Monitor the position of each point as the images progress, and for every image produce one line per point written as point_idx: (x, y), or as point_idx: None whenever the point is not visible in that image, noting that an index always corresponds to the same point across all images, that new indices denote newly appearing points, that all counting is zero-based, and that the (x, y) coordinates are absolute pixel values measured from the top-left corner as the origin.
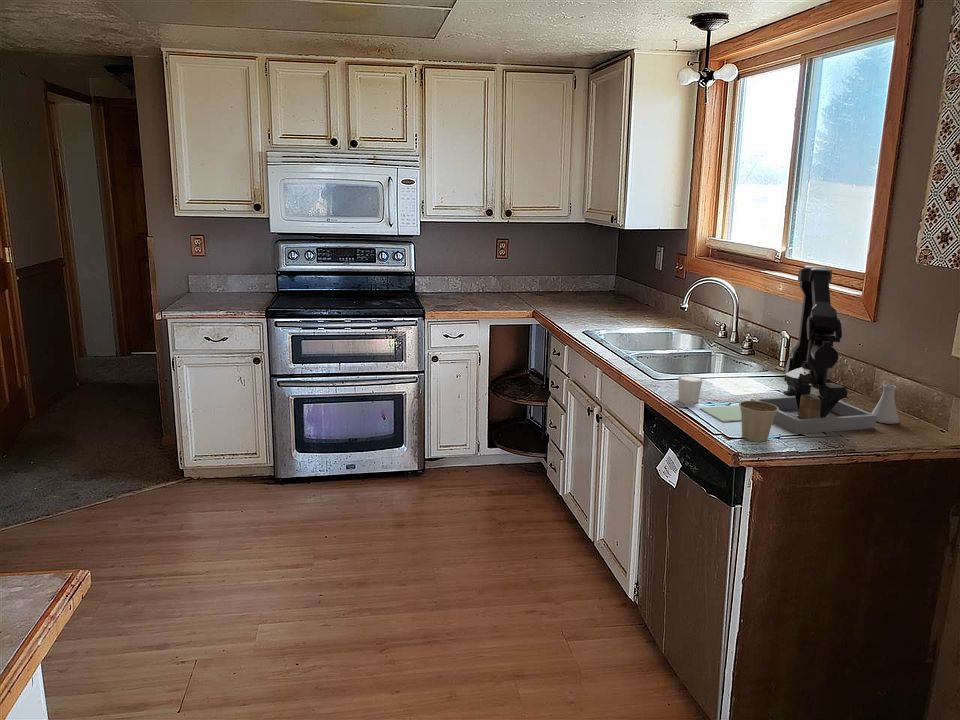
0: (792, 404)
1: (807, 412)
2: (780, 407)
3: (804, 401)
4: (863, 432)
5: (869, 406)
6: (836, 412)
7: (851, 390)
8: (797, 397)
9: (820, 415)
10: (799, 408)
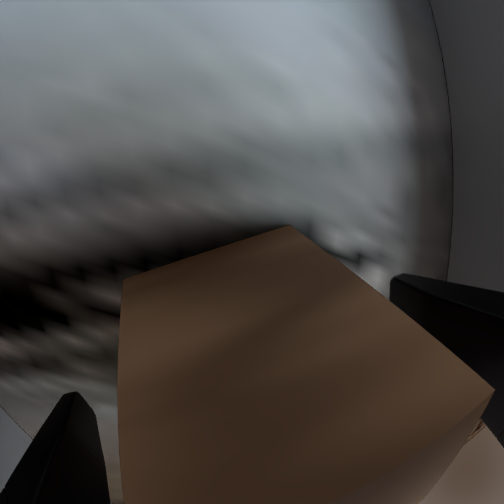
0: (475, 263)
1: (166, 322)
2: (468, 157)
3: (322, 390)
4: None
5: None
6: None
7: (468, 440)
8: (496, 311)
9: (63, 415)
10: (333, 265)
